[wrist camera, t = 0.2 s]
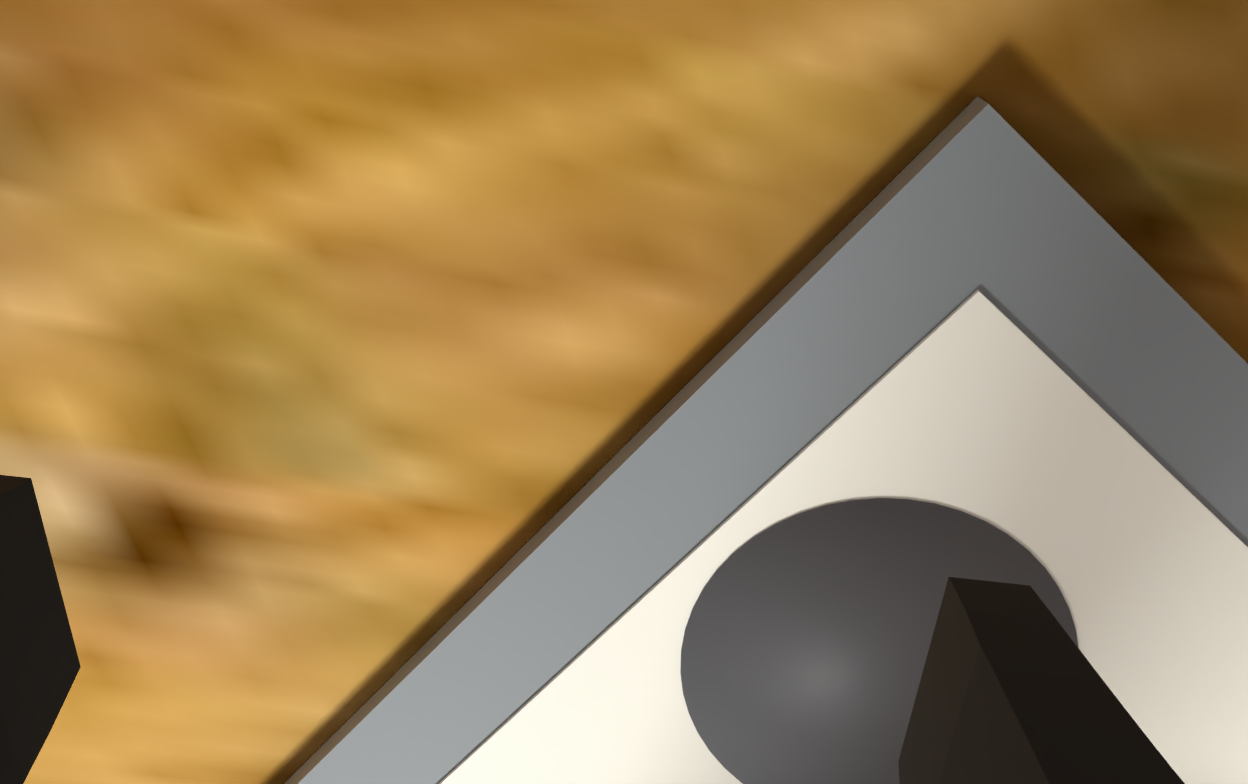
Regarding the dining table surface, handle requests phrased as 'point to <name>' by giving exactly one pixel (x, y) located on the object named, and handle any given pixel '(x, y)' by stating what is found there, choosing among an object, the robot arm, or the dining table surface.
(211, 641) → the dining table surface
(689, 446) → the white mounting plate
